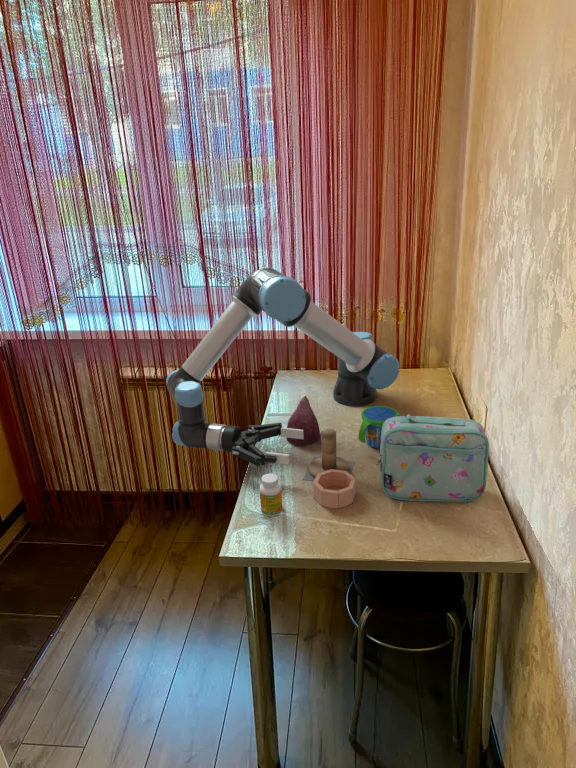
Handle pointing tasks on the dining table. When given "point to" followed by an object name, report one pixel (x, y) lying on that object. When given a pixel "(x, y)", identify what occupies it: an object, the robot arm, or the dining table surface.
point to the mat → (310, 478)
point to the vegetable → (304, 424)
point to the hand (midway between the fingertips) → (296, 446)
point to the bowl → (334, 488)
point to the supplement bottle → (270, 495)
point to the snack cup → (374, 424)
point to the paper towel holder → (328, 455)
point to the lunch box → (433, 458)
